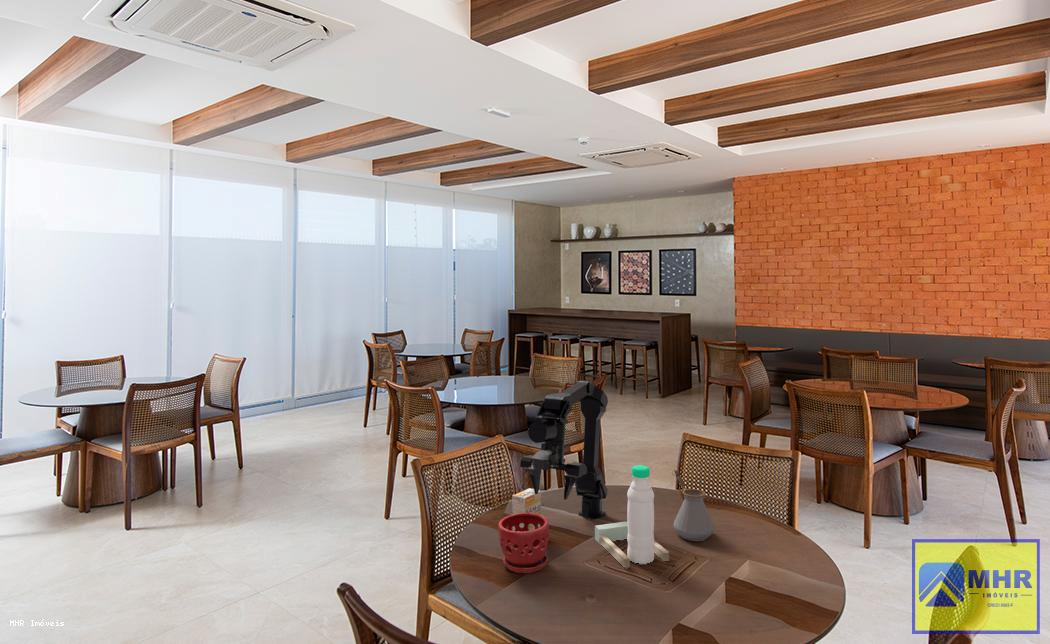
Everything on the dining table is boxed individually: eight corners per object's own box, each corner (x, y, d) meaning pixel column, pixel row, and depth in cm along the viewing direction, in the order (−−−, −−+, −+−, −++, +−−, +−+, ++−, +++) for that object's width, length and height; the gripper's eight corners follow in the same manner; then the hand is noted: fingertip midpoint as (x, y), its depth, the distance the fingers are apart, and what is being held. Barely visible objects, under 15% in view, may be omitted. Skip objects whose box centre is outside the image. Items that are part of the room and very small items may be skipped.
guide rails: (599, 543, 170) (599, 534, 169) (640, 537, 173) (640, 529, 173) (624, 568, 154) (624, 559, 154) (669, 561, 158) (669, 552, 158)
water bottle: (654, 566, 155) (654, 471, 154) (626, 564, 157) (626, 470, 155) (654, 554, 162) (654, 463, 161) (627, 552, 164) (627, 462, 162)
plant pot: (520, 550, 166) (520, 508, 165) (559, 563, 157) (558, 519, 157) (488, 567, 156) (488, 522, 155) (527, 583, 147) (527, 535, 147)
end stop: (595, 539, 172) (594, 525, 172) (635, 533, 176) (635, 520, 176) (599, 543, 170) (599, 529, 169) (640, 537, 173) (640, 524, 173)
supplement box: (525, 543, 170) (524, 498, 169) (512, 539, 173) (511, 494, 172) (542, 533, 177) (541, 490, 176) (529, 529, 180) (528, 487, 179)
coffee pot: (721, 543, 169) (721, 490, 168) (681, 545, 168) (682, 492, 167) (692, 514, 190) (692, 468, 189) (657, 516, 189) (657, 469, 188)
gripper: (511, 438, 166) (507, 495, 165) (571, 446, 156) (567, 507, 155) (531, 435, 175) (527, 489, 174) (589, 443, 166) (585, 500, 165)
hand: (550, 496), depth 167 cm, fingers open, 9 cm apart
